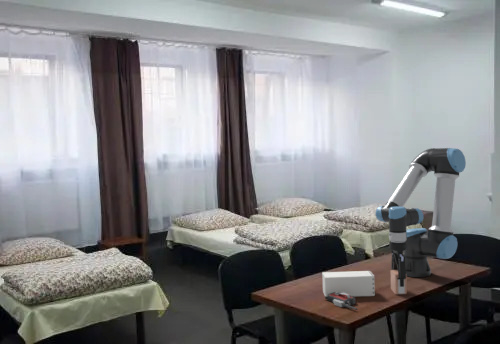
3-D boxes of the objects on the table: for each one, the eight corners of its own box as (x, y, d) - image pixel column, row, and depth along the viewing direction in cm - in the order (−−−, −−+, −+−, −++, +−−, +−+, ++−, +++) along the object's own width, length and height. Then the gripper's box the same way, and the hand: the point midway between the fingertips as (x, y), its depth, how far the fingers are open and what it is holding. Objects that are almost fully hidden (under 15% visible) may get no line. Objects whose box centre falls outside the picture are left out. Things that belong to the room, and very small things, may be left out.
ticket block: (370, 289, 239) (369, 270, 239) (374, 295, 230) (374, 275, 230) (322, 291, 239) (322, 272, 239) (325, 297, 230) (325, 277, 230)
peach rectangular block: (401, 288, 239) (401, 269, 238) (406, 293, 231) (406, 274, 230) (390, 289, 239) (390, 270, 238) (395, 294, 231) (395, 274, 230)
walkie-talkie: (321, 301, 226) (355, 313, 210) (320, 291, 226) (354, 302, 210) (335, 297, 231) (369, 308, 215) (335, 287, 231) (369, 298, 215)
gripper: (383, 236, 244) (384, 284, 245) (395, 246, 223) (396, 297, 224) (399, 236, 244) (400, 283, 245) (413, 245, 223) (414, 297, 224)
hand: (398, 290), depth 235 cm, fingers closed on peach rectangular block, 8 cm apart
